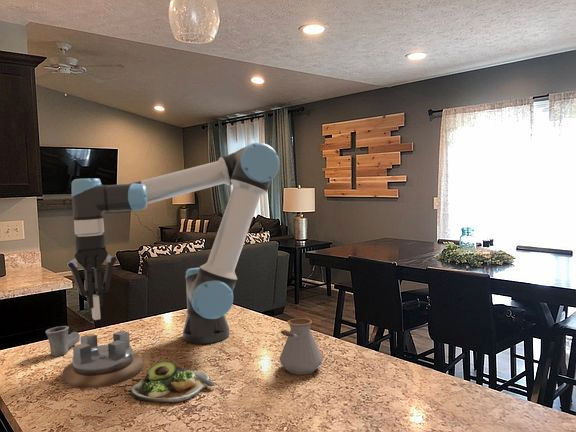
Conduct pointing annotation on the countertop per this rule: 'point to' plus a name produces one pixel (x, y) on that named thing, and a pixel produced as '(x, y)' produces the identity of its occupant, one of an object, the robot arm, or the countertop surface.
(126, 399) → the countertop surface
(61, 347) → the pipe
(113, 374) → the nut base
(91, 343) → the four-tab metal disc
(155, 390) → the salad plate
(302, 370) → the coffee pot
